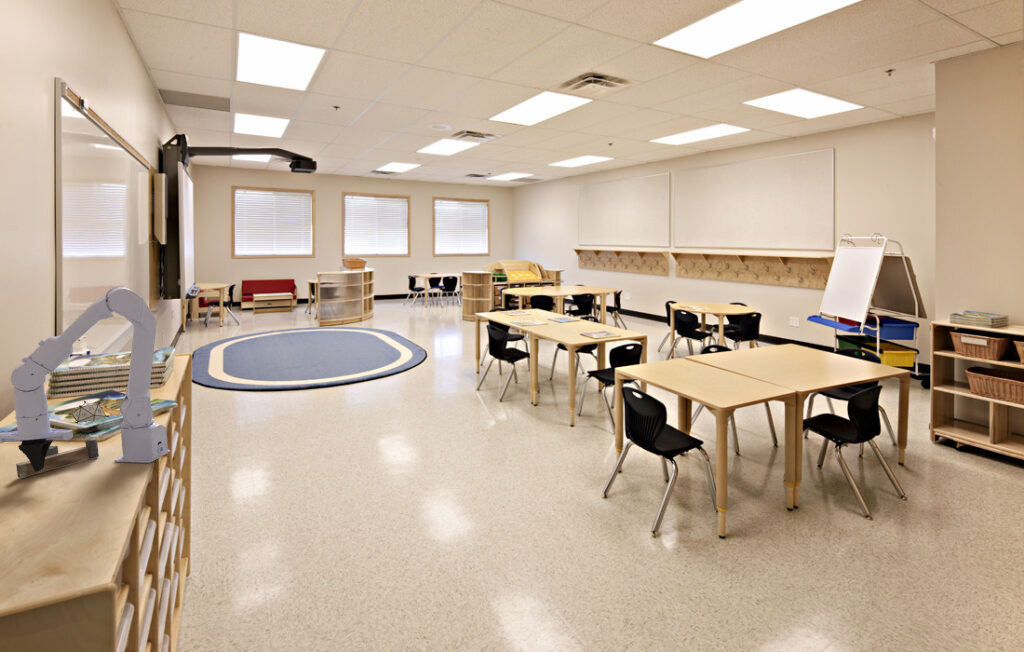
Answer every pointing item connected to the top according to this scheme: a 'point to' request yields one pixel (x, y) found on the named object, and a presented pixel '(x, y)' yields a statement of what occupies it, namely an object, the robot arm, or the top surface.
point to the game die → (88, 412)
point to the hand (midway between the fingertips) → (39, 469)
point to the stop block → (52, 450)
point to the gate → (61, 459)
